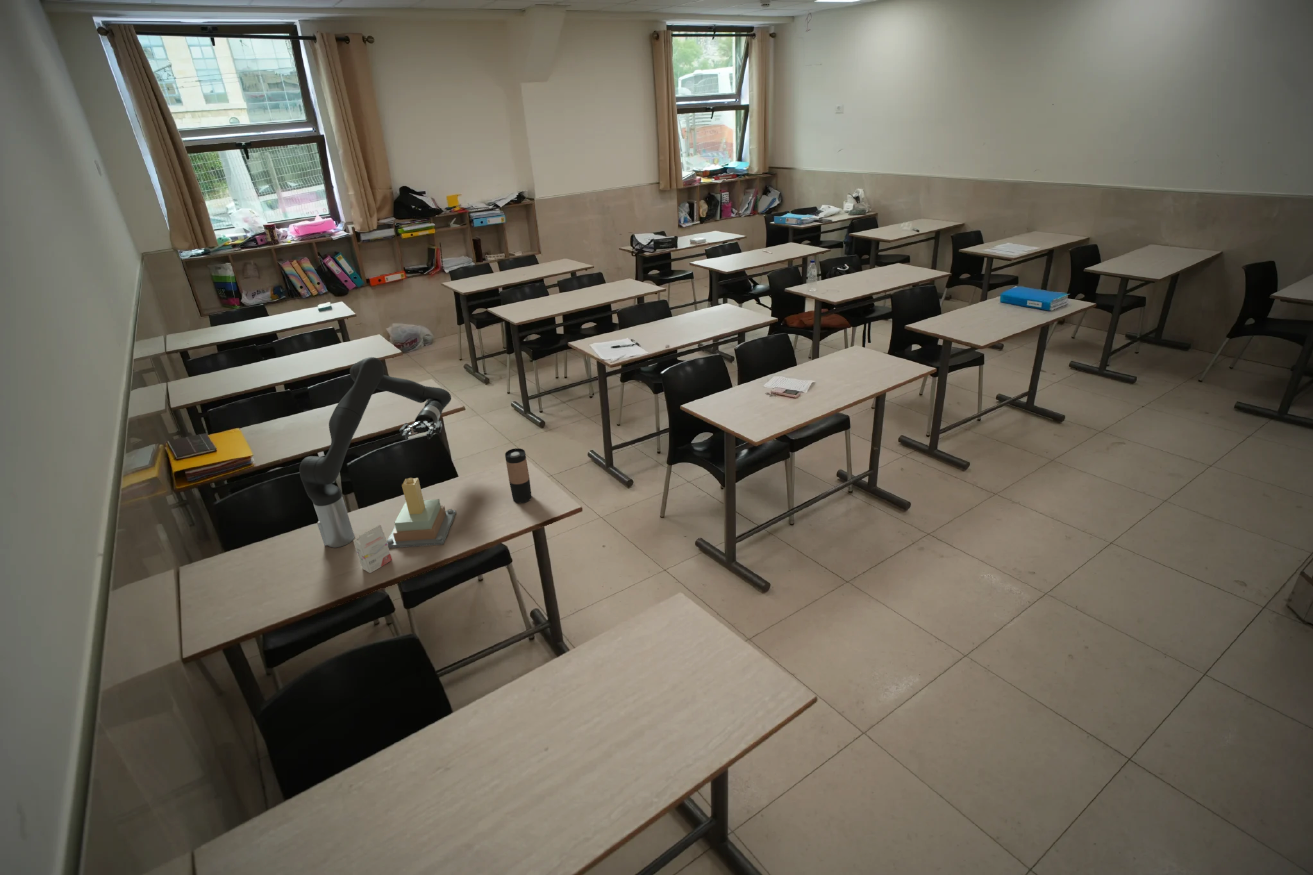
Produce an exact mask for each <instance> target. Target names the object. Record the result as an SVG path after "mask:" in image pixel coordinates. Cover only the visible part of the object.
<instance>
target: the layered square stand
mask: <svg viewBox="0 0 1313 875" xmlns="http://www.w3.org/2000/svg"><path fill="white" fill-rule="evenodd" d="M423 500H424V504H425V508H424V510H423V512H422V514H409V511H408V507H407V503H406V501H405V502H404V504H403V506H402V507H401V510H400V512H399V514H398V516H397V517H396V519H395V522H394V527H393V529H392V532H390V535H389V536H388V538H387V539H386V541H387V544H388V548H389V549H395V548H409V547H422V546H423V547H425V546H436V545H437V546H439V545H444V543H445V542H446V539H447V536H448V533H449V531H450V528H451V527H452V526H451V525H452V524H453V521H454V519H455V517H456V513H457V512H456V509H452V508H449V509H447V510H446V507H445V505H441V502H440V499H439V498H434V499H423Z"/></svg>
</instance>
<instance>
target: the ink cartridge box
mask: <svg viewBox="0 0 1313 875" xmlns="http://www.w3.org/2000/svg"><path fill="white" fill-rule="evenodd" d="M352 542H353V545H354V547H355V550H356V553H357V557H358V559H359V562H360V566H361V568H362V570H364V571H366V572H367V573H369V574H371V573H373V572H375V571H376V570H378V569H381V567H383V566H385V565H387V564H388V563H390V562H392V561H393V559H392V555H391V552H390V548H388V544H387V537H386V535H385V532H384V530H383V527H382V525H381V524H379V525H377V526H375V527H373V528H371V529H369V530H368V531H367V530H366V531H365V532H364V533H362V534H360V535H359V536H358V537H356V538H354V539H353V540H352Z"/></svg>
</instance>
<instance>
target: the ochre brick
mask: <svg viewBox="0 0 1313 875" xmlns="http://www.w3.org/2000/svg"><path fill="white" fill-rule="evenodd" d="M420 484H421V483H420V480H419V477H415V478H413V477H408V478H405V479H404V480H403V483H401V487H402V492H403V495H404V500H405V502H406V503H407V507H408V511H409V514H422V512H423V510H424V508H425V504H424V500H425V499H424V496H423V493H422V489H421V485H420Z"/></svg>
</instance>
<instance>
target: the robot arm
mask: <svg viewBox="0 0 1313 875" xmlns="http://www.w3.org/2000/svg"><path fill="white" fill-rule="evenodd" d="M349 376H350V379H351V380H353V382H354V383H353V384H352V386H351V387H350V388H349V390H348V391H347V392H346V393H345V395H344V396H343V397H342V398H341V399H340V400H339V402H338V403H337V405H336V406H335V408H334V410H333V412H332V414H331V416H330V418H329V419H328V420H329V421H328V431H329V434H330V440H331V442H330V445H329V449H328V451H327V453H326V455H325V456H315V455H314V456H313V455H310V456H309V455H308V456H306V457H304V458H303V459H302V460H301V462H300V465H299V469H298V470H299V475H300V476H299V477H300V480H301V482H302V486H303V487H304V490H305V493H306V495H307V496H308V498H309V499H310V500H311V502H312V503H313V507H314V510H315V513H316V515H317V519H318V521H317V523H316V524H317V527H318V530H319V533H320V537H321V540H322V543H323V546H325V547H326V546H328V547H329V548H340V547H344V546H346V545H348V544H350V543H351V542H353V540H354V539H355V533H354V529H353V526H352V523H351V520H350V517H349V514H348V510H347V507H346V503H345V501H344V497H343V494H342V492H341V488H340V487H339V486H337V485H335V484H334V482H335V481H336V480H337V479H338V478H339V475H340V473H341V470H342V467H343V463H344V460H345V457H346V455H347V453H348V452H347V451H348V450H349V447H350V445H351V442H352V439H353V437H354V436H355V433H356V432H357V429H358V427H359V425H360V423H361V421H362V419H363V417H364V414H365V411H366V410H367V407H368V404H369V402H370V400H371V398H372V396H373V394H374V392H375V391H376V389H377V390H380V391H383V392H388V393H391V394H394V395H397V396H401V397H403V398H406V399H407V400H408V399H409V400H411V401H413V402H416V403H419V404H423V403H424V406H423V408H421V409H420V411H419V412H418V413H417V415H416V417H415V419H414V422H413V423H412V424H408V423H407V422H405V423H404V424H403V425H402V426H401V427H400V429H399V432H400V436H401V438H402V440H403V441H407V440H408V438H409V437H410V436H414V435H417V434H418V433H419V434H420V433H426V439H427V440H430V439H431V438H432V437H433V436H434V435H435V434H437V435H439V434H441V432H442V429H443V423H442V421H441V420H440V417H441V416H442V413H443V410H444V409H445V408H446V407H447V406H448V405H449V404H450V402H451V400H452V396H451V394H450V392H448V390H446V389H444V388H442V387H434V386H427V385H426V386H425V385H424V384H421V383H418V382H416V381H414V380H409V379H406V378H400V377H394V376H390V375H386V374H385V366H384V363H383V362H382V361H381V359H380V358H378V357H372V356H371V357H365V358H363V359H362V360H359V361H357V362H355V363H353V365H352V366H351V367H350V369H349Z"/></svg>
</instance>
